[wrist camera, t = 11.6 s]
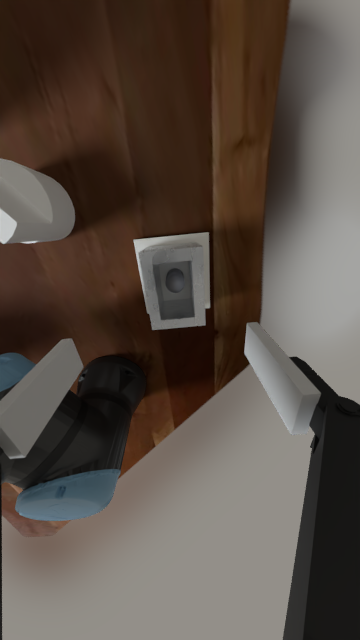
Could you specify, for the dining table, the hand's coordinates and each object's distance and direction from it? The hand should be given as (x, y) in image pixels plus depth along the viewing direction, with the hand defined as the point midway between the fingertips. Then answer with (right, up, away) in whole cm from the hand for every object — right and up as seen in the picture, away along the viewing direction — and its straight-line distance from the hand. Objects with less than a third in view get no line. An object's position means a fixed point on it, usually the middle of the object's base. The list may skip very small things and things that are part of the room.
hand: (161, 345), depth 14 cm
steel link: (+1, +9, +18) cm, 20 cm away
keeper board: (+1, +10, +19) cm, 22 cm away
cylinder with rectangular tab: (-19, +19, +15) cm, 31 cm away
